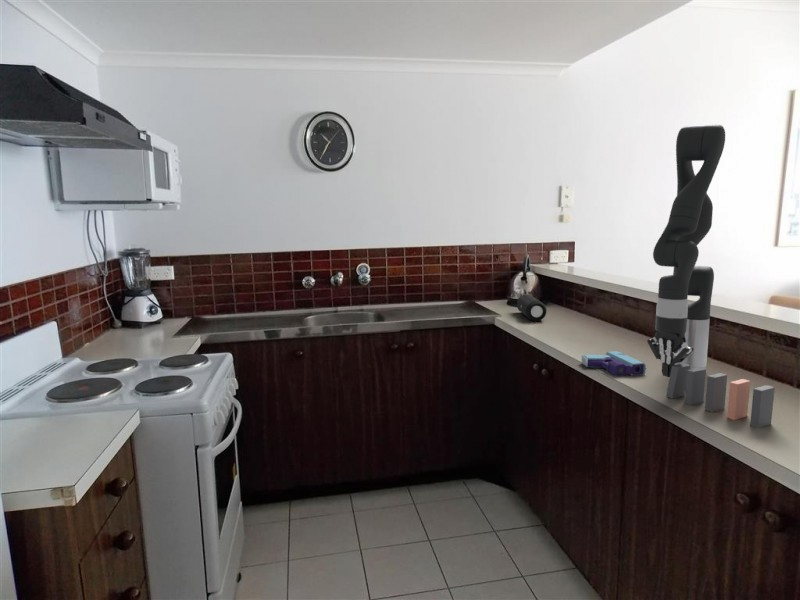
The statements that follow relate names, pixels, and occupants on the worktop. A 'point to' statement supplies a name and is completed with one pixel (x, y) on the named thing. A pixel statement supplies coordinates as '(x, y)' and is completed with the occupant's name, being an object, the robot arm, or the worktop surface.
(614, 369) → the pistol
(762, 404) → the domino
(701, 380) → the domino
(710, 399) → the domino
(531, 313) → the portable speaker
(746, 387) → the domino
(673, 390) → the domino
